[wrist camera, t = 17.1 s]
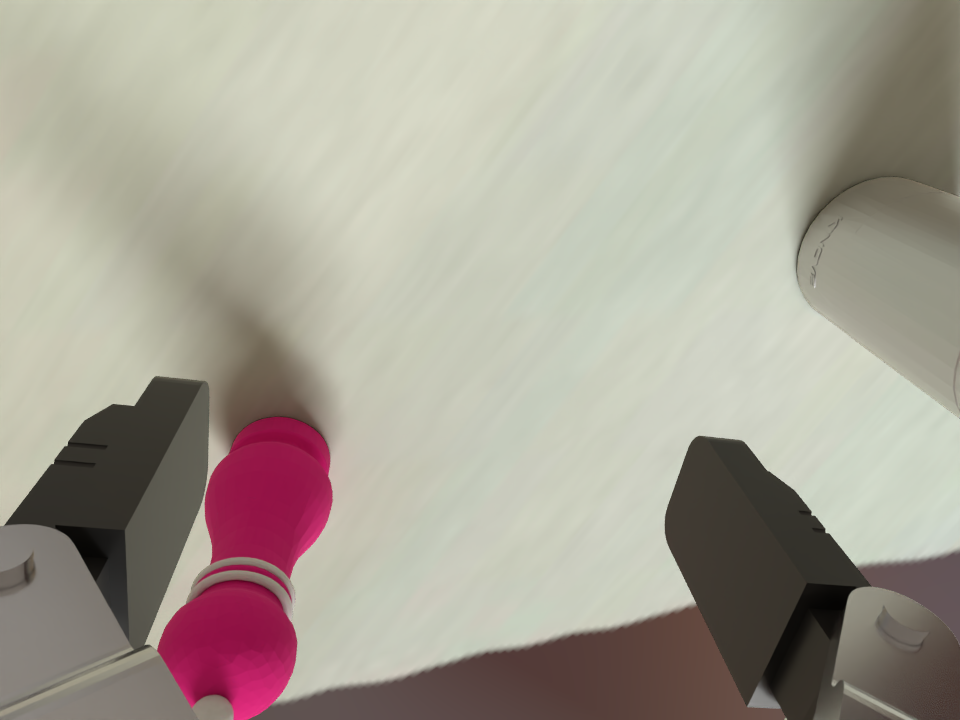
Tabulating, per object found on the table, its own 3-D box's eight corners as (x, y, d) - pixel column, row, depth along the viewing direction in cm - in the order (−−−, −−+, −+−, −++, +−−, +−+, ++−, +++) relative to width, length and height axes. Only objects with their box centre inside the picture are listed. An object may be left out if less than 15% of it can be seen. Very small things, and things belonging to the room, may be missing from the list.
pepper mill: (276, 387, 44) (189, 645, 27) (361, 456, 47) (335, 731, 29) (199, 457, 46) (70, 744, 28) (286, 520, 49) (219, 817, 31)
